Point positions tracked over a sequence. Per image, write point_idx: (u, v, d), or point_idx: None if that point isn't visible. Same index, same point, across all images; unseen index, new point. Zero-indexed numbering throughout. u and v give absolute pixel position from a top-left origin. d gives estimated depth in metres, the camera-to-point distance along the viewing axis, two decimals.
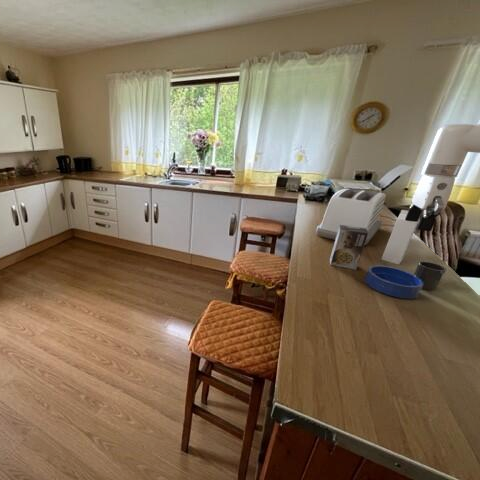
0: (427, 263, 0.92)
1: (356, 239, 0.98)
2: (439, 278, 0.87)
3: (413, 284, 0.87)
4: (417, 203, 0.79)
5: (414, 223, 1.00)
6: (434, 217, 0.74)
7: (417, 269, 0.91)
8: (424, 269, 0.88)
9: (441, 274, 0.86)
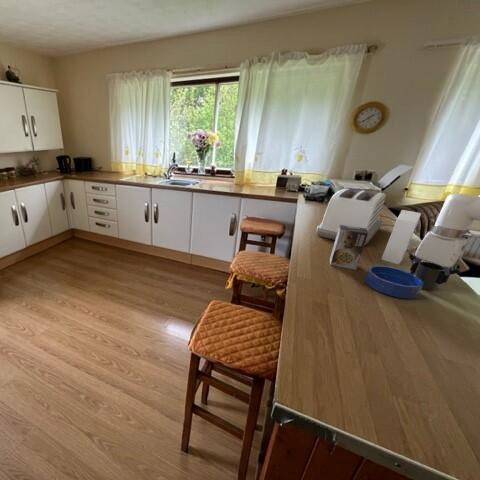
0: (427, 263, 0.92)
1: (356, 239, 0.98)
2: None
3: (413, 284, 0.87)
4: (432, 260, 0.87)
5: (414, 223, 1.00)
6: None
7: (417, 269, 0.91)
8: (424, 269, 0.88)
9: None
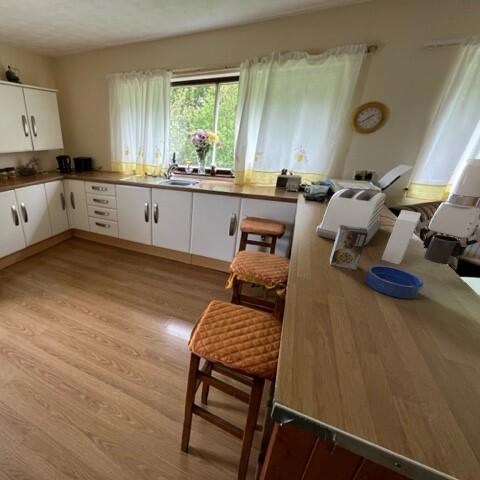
0: (441, 236, 0.87)
1: (356, 239, 0.98)
2: None
3: (413, 284, 0.87)
4: (447, 231, 0.83)
5: (414, 223, 1.00)
6: None
7: (431, 242, 0.87)
8: (438, 242, 0.84)
9: None
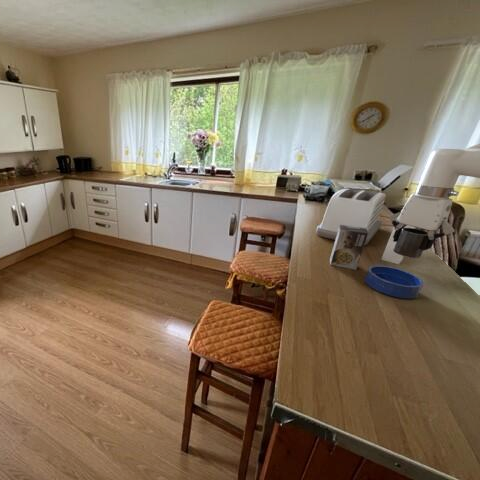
0: (411, 229, 0.85)
1: (356, 239, 0.98)
2: None
3: (413, 284, 0.87)
4: (416, 224, 0.80)
5: None
6: None
7: (400, 235, 0.84)
8: (407, 234, 0.82)
9: None
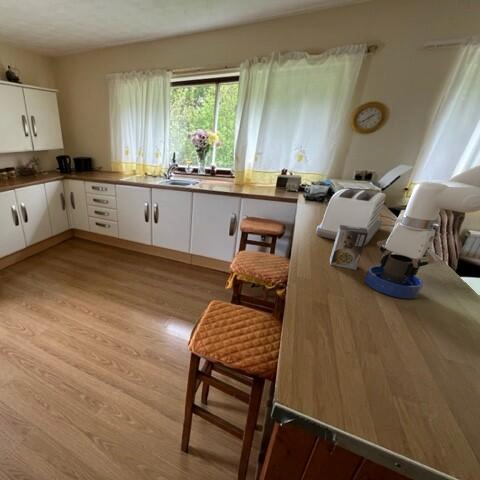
0: (397, 255, 0.89)
1: (356, 239, 0.98)
2: None
3: (413, 284, 0.87)
4: (401, 252, 0.84)
5: None
6: None
7: (387, 262, 0.88)
8: (393, 261, 0.85)
9: (410, 266, 0.83)
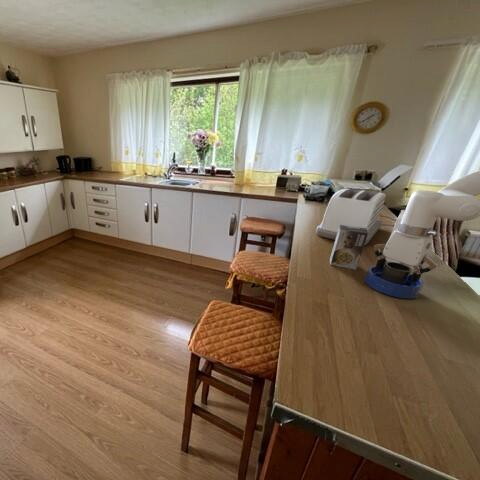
0: (394, 263, 0.90)
1: (356, 239, 0.98)
2: (405, 279, 0.85)
3: (413, 284, 0.87)
4: (399, 259, 0.85)
5: None
6: None
7: (384, 270, 0.89)
8: (390, 270, 0.87)
9: (406, 275, 0.85)
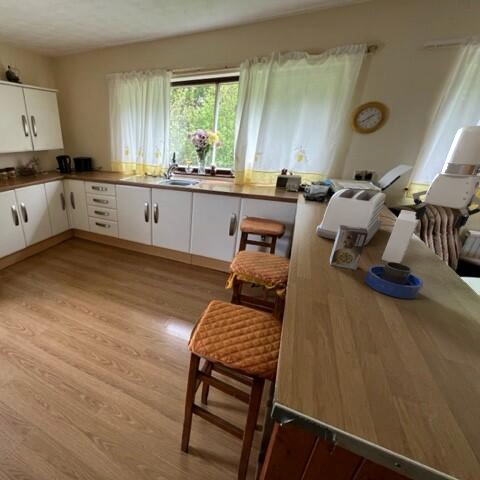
0: (394, 263, 0.90)
1: (356, 239, 0.98)
2: (405, 279, 0.85)
3: (413, 284, 0.87)
4: (443, 203, 0.81)
5: (414, 223, 1.00)
6: (472, 214, 0.77)
7: (384, 270, 0.89)
8: (390, 270, 0.87)
9: (406, 275, 0.85)
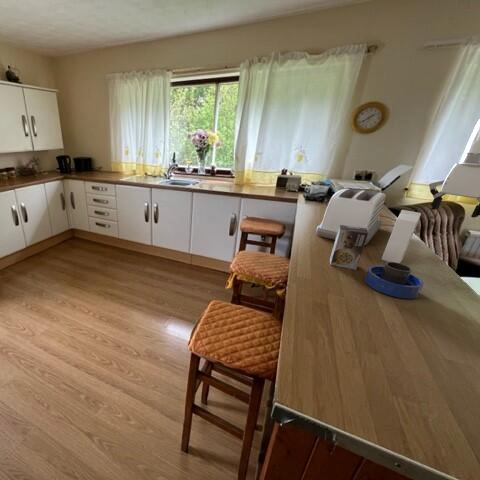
0: (394, 263, 0.90)
1: (356, 239, 0.98)
2: (405, 279, 0.85)
3: (413, 284, 0.87)
4: (460, 192, 0.81)
5: (414, 223, 1.00)
6: None
7: (384, 270, 0.89)
8: (390, 270, 0.87)
9: (406, 275, 0.85)
